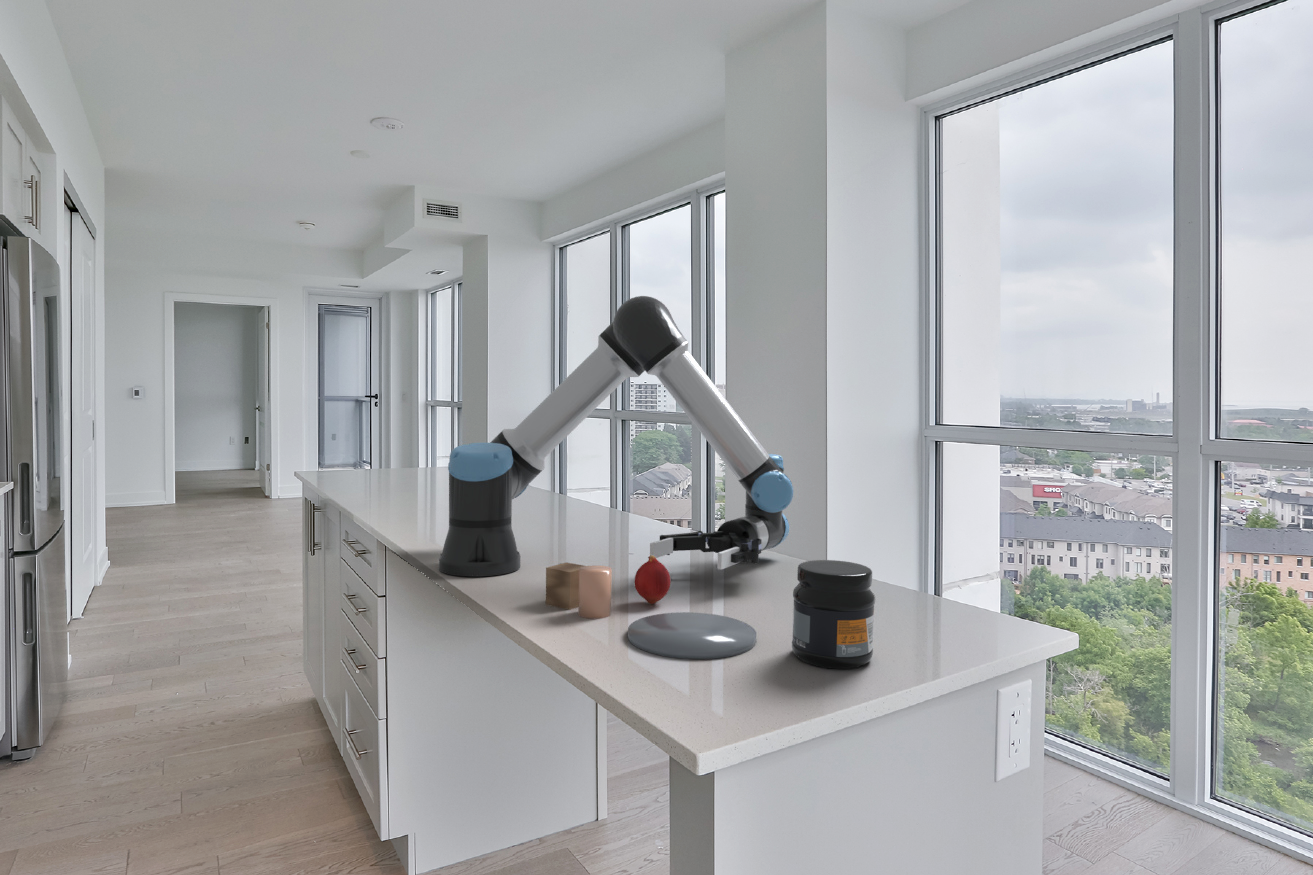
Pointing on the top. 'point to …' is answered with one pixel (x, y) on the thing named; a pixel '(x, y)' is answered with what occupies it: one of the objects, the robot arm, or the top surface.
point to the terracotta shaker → (594, 592)
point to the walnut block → (563, 585)
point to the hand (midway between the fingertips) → (684, 555)
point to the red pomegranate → (652, 580)
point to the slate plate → (692, 635)
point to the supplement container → (833, 614)
